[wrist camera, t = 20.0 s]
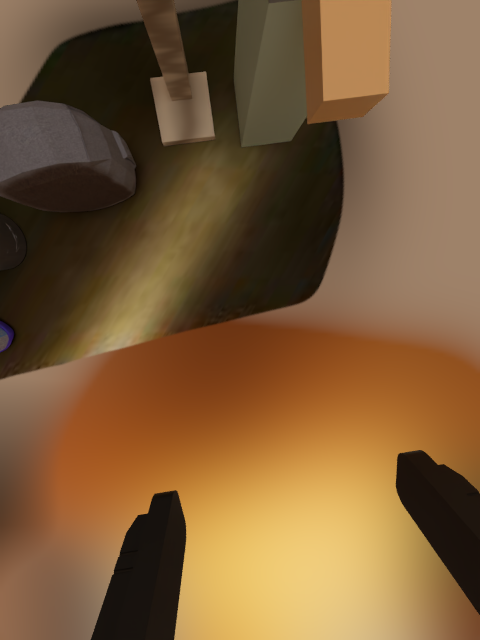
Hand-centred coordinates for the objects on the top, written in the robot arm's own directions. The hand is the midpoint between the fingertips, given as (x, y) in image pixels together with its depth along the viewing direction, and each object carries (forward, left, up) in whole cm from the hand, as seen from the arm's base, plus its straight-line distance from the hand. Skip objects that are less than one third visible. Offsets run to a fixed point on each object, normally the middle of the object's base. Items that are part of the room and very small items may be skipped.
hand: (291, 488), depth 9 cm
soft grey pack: (-19, +21, -40) cm, 49 cm away
